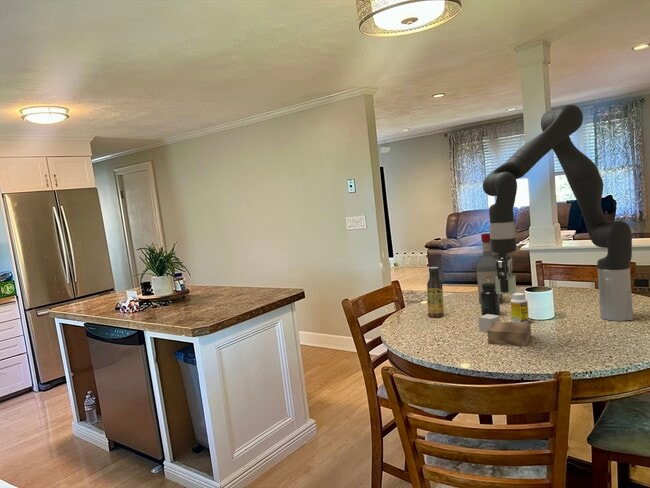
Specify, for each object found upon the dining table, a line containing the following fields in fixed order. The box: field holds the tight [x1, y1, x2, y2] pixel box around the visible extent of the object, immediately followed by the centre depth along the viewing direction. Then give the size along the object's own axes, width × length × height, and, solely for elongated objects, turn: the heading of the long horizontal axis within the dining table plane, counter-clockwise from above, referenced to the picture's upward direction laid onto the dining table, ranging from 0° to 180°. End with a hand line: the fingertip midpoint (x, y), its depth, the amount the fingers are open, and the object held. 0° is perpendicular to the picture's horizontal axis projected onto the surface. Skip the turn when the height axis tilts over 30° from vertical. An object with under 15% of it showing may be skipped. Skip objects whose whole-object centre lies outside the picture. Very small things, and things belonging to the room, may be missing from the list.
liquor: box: [476, 232, 504, 305], centre depth 191 cm, size 9×9×30 cm
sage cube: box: [496, 274, 517, 295], centre depth 140 cm, size 5×5×5 cm
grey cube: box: [477, 314, 501, 333], centre depth 153 cm, size 5×5×5 cm
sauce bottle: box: [426, 266, 445, 318], centre depth 179 cm, size 7×6×20 cm
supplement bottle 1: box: [480, 283, 501, 316], centre depth 173 cm, size 7×7×12 cm
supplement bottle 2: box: [510, 292, 530, 323], centre depth 159 cm, size 6×6×10 cm
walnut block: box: [486, 321, 532, 346], centre depth 142 cm, size 11×11×4 cm
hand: (506, 290), depth 140 cm, fingers closed on sage cube, 5 cm apart
